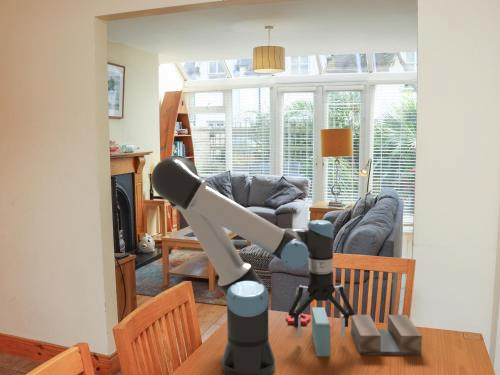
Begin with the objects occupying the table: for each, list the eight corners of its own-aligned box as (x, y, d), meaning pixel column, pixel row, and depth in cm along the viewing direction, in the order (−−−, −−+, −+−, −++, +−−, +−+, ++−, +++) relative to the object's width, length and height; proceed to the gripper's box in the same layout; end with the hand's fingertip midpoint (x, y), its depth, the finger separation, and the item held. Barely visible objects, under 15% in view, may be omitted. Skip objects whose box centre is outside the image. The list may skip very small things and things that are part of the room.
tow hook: (286, 315, 175) (284, 324, 166) (287, 280, 174) (285, 288, 165) (310, 316, 174) (309, 326, 164) (310, 281, 173) (309, 289, 163)
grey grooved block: (360, 354, 143) (360, 335, 142) (351, 332, 159) (351, 314, 158) (421, 355, 142) (421, 335, 142) (405, 332, 158) (406, 314, 157)
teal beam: (330, 356, 142) (330, 327, 141) (316, 356, 143) (316, 327, 141) (324, 333, 158) (324, 307, 157) (311, 333, 158) (312, 307, 157)
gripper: (280, 274, 144) (281, 341, 147) (364, 274, 143) (363, 341, 146) (280, 267, 152) (280, 331, 154) (359, 266, 151) (358, 331, 153)
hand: (321, 336), depth 150 cm, fingers open, 13 cm apart
